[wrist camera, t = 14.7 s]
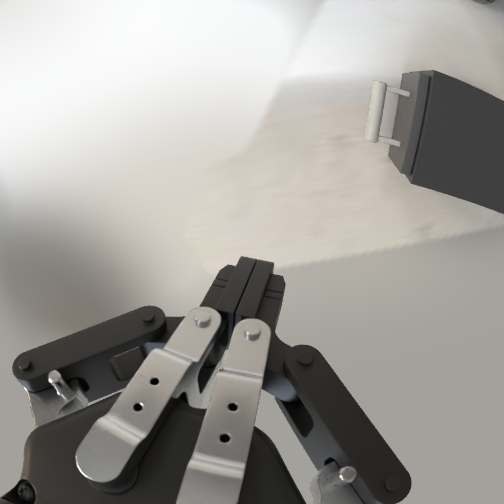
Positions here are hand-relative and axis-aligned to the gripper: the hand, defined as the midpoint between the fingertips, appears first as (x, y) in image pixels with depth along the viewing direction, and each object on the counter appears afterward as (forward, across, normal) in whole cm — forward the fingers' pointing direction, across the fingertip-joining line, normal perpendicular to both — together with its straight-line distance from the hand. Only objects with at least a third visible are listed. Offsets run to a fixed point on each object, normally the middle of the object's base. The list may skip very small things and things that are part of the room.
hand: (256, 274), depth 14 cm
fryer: (+29, -19, -6) cm, 35 cm away
